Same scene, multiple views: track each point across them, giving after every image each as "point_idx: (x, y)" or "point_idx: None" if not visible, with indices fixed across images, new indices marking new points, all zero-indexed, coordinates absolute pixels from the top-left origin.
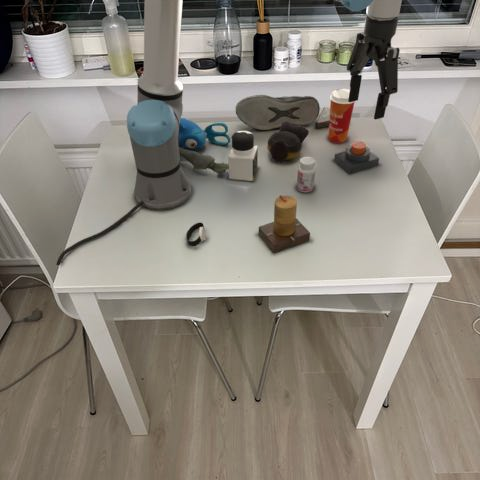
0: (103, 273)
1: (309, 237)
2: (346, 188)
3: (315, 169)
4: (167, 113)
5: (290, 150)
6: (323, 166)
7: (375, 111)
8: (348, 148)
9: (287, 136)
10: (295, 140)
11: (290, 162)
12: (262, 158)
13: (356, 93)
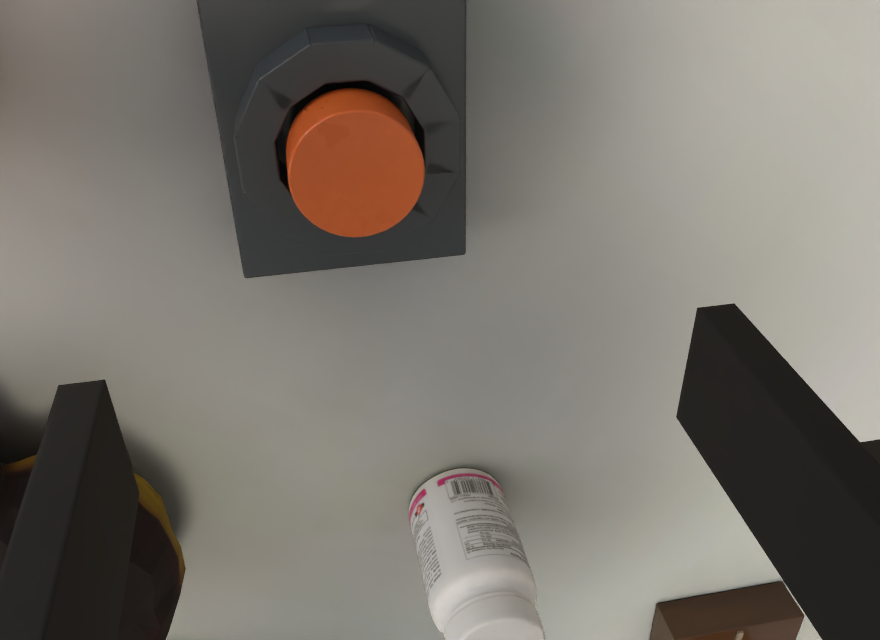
0: None
1: (790, 595)
2: (580, 317)
3: (519, 569)
4: None
5: (169, 580)
6: (286, 340)
7: (728, 482)
8: (286, 214)
9: None
10: None
11: (158, 493)
12: None
13: (96, 501)
